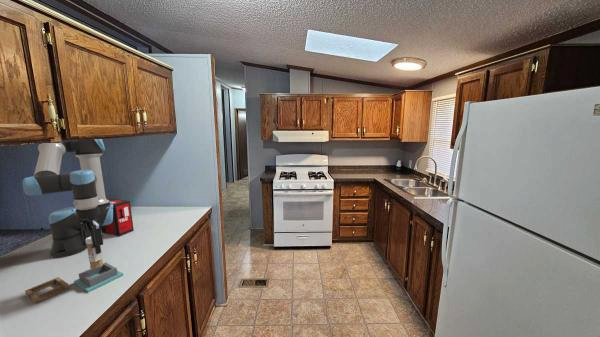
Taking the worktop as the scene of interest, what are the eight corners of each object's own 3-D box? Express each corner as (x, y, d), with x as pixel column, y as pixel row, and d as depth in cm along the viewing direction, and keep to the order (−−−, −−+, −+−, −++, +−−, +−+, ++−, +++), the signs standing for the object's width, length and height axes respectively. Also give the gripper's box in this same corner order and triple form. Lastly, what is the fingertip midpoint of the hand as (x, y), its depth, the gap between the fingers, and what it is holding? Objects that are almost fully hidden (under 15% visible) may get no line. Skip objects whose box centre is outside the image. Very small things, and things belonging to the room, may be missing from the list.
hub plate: (74, 283, 105) (72, 274, 104) (108, 267, 116) (107, 260, 115) (88, 292, 99) (86, 283, 98) (123, 275, 110) (122, 267, 109)
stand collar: (25, 295, 98) (24, 290, 97) (59, 281, 106) (58, 277, 106) (35, 303, 93) (34, 298, 93) (69, 288, 102) (68, 283, 101)
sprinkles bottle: (90, 270, 103) (85, 241, 101) (89, 266, 106) (84, 237, 104) (104, 266, 106) (99, 237, 104) (102, 262, 109) (98, 234, 107)
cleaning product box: (101, 232, 154) (97, 202, 151) (116, 227, 163) (112, 198, 159) (119, 236, 149) (115, 205, 145) (133, 230, 157) (129, 201, 153)
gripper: (66, 206, 102) (76, 257, 107) (86, 213, 94) (95, 268, 98) (88, 201, 109) (96, 249, 113) (108, 207, 101) (116, 259, 105)
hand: (95, 258), depth 106 cm, fingers closed on sprinkles bottle, 4 cm apart
